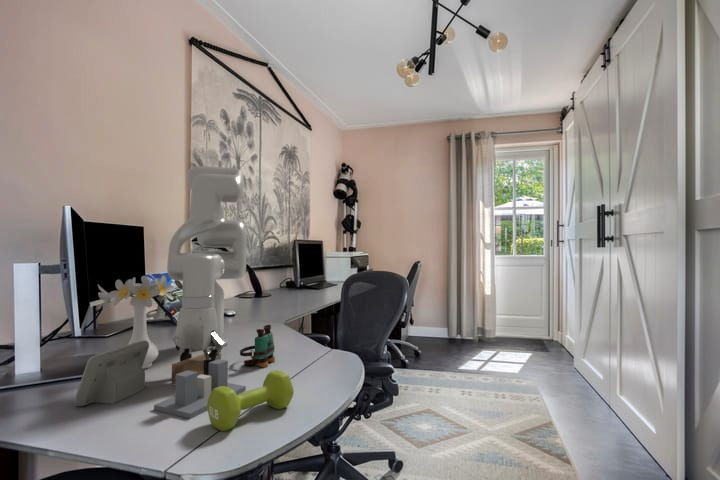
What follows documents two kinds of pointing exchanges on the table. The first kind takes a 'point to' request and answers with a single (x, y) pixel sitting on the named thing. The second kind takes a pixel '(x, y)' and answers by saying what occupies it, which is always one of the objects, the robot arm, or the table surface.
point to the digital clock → (113, 375)
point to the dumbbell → (248, 399)
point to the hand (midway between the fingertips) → (197, 372)
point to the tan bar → (190, 366)
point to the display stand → (196, 390)
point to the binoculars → (261, 348)
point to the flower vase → (139, 307)
